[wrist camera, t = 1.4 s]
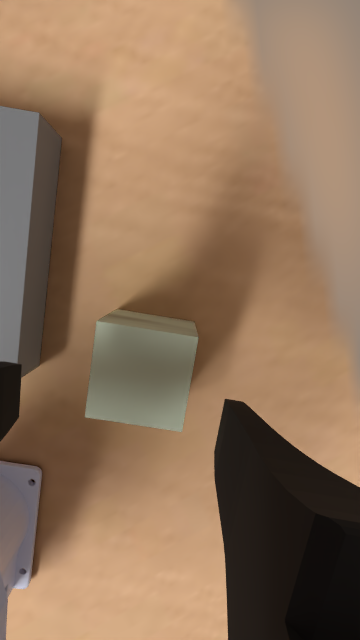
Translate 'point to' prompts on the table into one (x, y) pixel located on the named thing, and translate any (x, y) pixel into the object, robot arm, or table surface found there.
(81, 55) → the table surface
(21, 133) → the stacking base
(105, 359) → the sage green cube
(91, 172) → the table surface
